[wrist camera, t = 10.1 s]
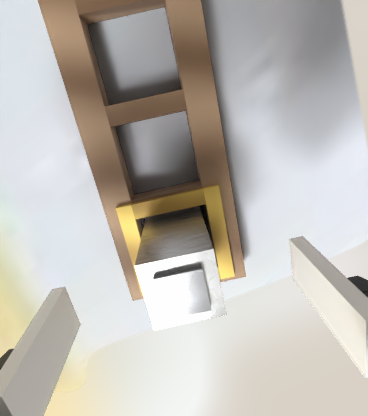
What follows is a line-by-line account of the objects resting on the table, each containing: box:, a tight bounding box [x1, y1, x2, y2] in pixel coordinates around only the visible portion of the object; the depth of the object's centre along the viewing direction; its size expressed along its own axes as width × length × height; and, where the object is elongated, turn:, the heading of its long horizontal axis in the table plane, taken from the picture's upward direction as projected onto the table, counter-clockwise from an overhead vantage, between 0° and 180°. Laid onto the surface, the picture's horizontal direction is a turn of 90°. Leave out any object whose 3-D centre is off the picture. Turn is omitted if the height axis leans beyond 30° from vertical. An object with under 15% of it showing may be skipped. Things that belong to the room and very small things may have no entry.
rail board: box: [38, 0, 246, 301], centre depth 22 cm, size 23×10×2 cm, turn 12°
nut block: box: [135, 206, 227, 330], centre depth 21 cm, size 4×4×9 cm
